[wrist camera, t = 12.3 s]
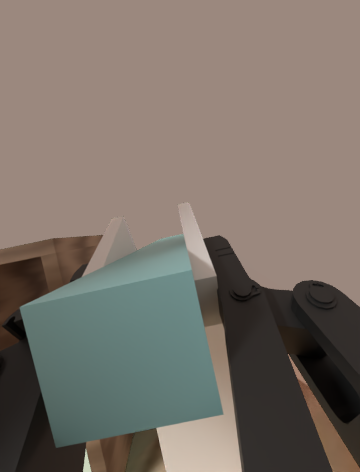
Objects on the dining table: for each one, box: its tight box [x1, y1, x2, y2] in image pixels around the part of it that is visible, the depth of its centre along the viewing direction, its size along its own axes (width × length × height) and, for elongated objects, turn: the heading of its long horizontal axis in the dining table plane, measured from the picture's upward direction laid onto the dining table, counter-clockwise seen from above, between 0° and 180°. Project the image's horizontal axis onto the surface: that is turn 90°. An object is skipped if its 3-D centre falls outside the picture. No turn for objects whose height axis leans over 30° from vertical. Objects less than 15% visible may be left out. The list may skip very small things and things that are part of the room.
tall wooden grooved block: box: [0, 235, 134, 472], centre depth 25 cm, size 13×10×30 cm
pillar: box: [156, 320, 242, 472], centre depth 25 cm, size 12×10×22 cm
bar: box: [20, 234, 224, 448], centre depth 16 cm, size 24×4×3 cm, turn 0°
